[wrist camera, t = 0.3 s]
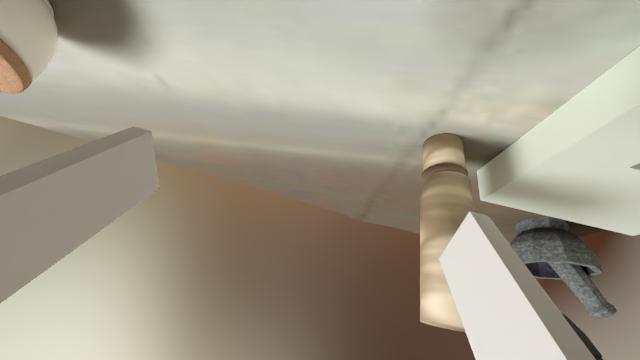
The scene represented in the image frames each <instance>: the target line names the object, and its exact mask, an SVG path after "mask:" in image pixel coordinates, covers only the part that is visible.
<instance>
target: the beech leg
mask: <svg viewBox="0 0 640 360" xmlns="http://www.w3.org/2000/svg"><path fill="white" fill-rule="evenodd" d="M469 211H471V212H474V207H473V198H472V190H471V181H470V179H469V177H468V172H467V170H466V167H465V158H464V149H463V141H462V139H461V138H460V137H459V136H457V135H454V134H448V133H443V134H437V135H434V136H432V137H430V138H428V139H427V140H426V141H425V142H424V145H423V173H422V180H421V182H420V321H421V322H423V323H426V324H429V325H433V326H437V327H442V328H447V329H451V330H456V331H462V332H465V329H464V326H463V323H462V321H461V318H460V315H459V313H458V310H457V307H456V304H455V302H454V299H453V296H452V294H451V291H450V288H449V285H448V283H447V280H446V277H445V275H444V272H443V269H442V267H441V264H440V261H439V258H440V256H441V255H442V253H443V252H444V250H445V249H446V247H447V245H448V244H449V242H450V241H451V239H452V238H453V236H454V235H455V233H456V231H457V230H458V228H459V227H460V225H461V224H462V222H463V220H464V219H465V217H466V216H467V214H468V213H469Z"/></svg>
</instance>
